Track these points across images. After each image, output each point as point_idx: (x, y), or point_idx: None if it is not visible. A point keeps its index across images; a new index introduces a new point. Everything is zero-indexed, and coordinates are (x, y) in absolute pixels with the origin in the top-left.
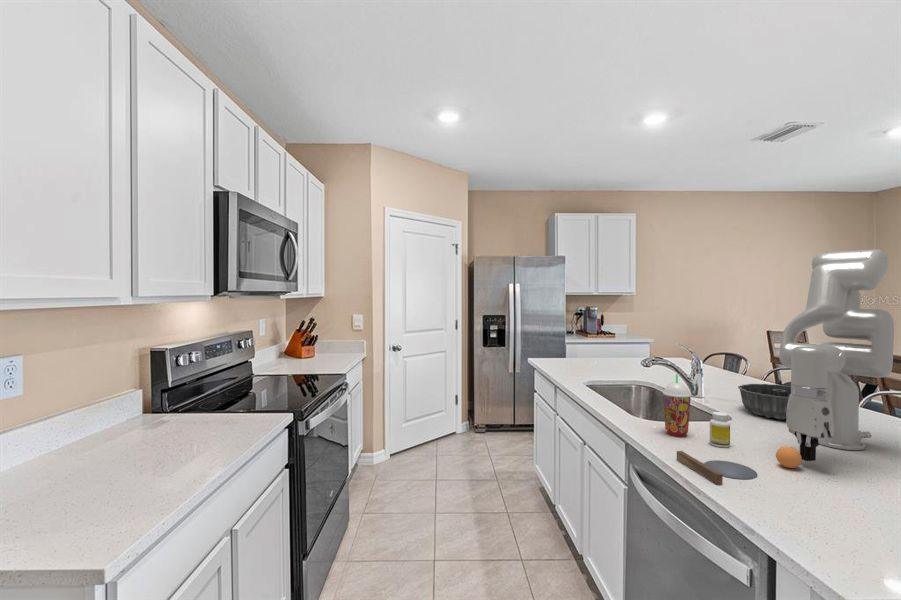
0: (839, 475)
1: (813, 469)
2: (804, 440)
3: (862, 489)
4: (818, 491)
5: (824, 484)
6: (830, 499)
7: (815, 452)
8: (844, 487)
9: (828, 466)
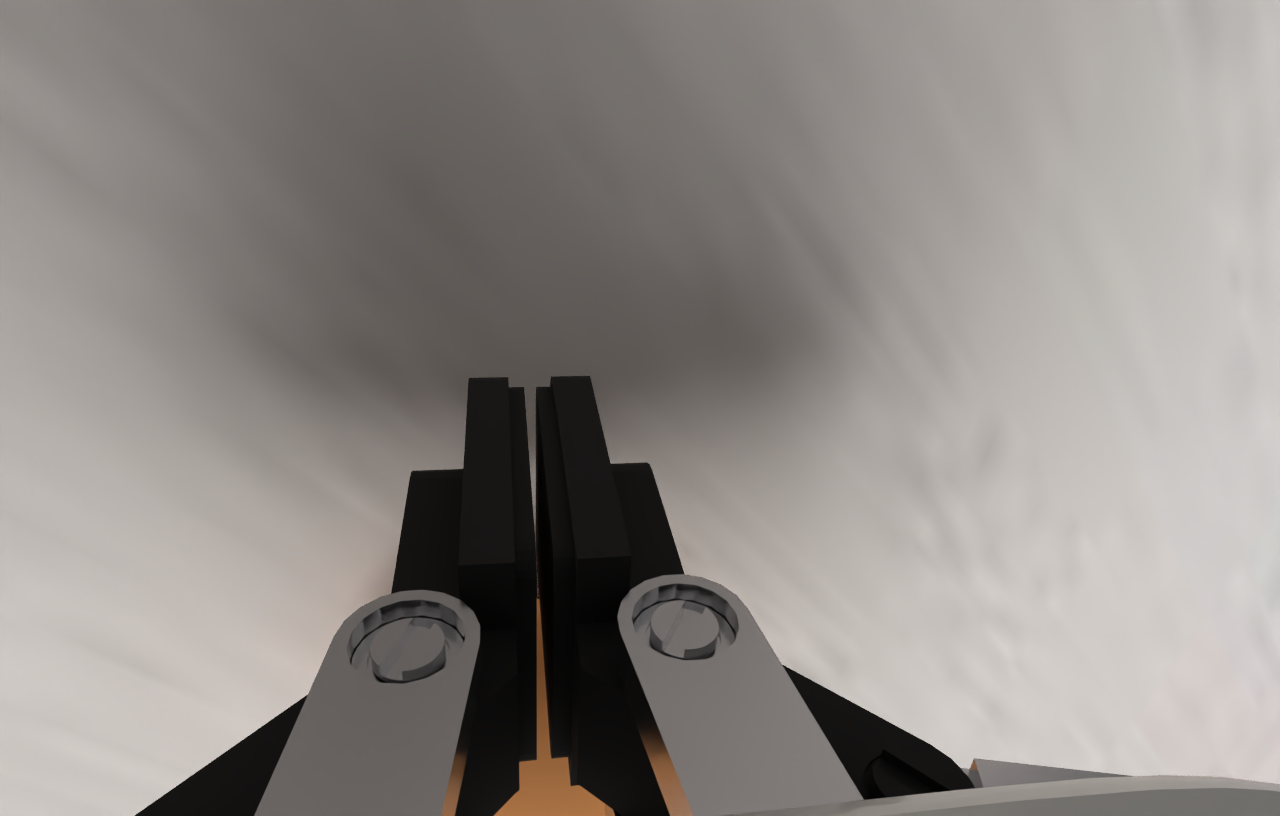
0: (898, 227)
1: (626, 402)
2: (469, 809)
3: (1243, 361)
4: (1043, 754)
5: (985, 621)
6: (1157, 766)
7: (670, 532)
8: (1117, 500)
9: (551, 4)
